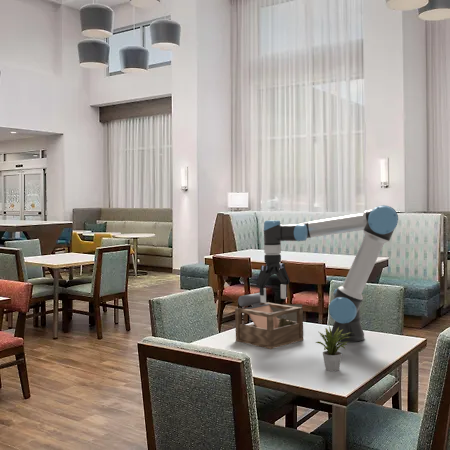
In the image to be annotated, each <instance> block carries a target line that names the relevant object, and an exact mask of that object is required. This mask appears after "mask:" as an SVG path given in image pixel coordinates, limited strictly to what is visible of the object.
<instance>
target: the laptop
mask: <svg viewBox="0 0 450 450" xmlns="http://www.w3.org/2000/svg"><path fill="white" fill-rule="evenodd" d="M286 305H287V306H294V307H302V308H303V304H302V303H301V304H286ZM271 309H272V311H273V312H276V311H281V310H285V309H279V308H273V307H271ZM276 317H277V318H278V319H282V318H284V319H286V320H290V321H294V322H297V312H293V313H289V314H284V315H280V316H276Z"/></svg>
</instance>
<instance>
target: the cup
mask: <svg viewBox="0 0 450 450" xmlns="http://www.w3.org/2000/svg"><path fill="white" fill-rule="evenodd" d="M292 324H294V323H293V322H292V321H290V320H289V321H286V319H284V318H282V319H280V321H279V325H278V328H279V327H283V326H288V325H292Z"/></svg>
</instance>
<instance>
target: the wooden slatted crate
mask: <svg viewBox="0 0 450 450" xmlns="http://www.w3.org/2000/svg"><path fill="white" fill-rule="evenodd" d="M263 304H269V306H270V307H273V308H279V309H285V310H281V311H276V312H272V313H268V312H262V311H256V310H250V309H245V308H243V307H237V308H235V309H234V316H235V317H234V318H235V319H234V320H235V325H234V327H235V341H236V342H239V343H243V344H247V345H252V346H256V347H260V348H264V349H269V350H273V349H276V348H277V349H278V348H279V347H283V346H286V345H291V344H295V343H297V342H301V341H304V310H303V309H304V308H303V306H302V307H294V306H287V305H288V304H280V303H274V302H269V301H268V302H267V301H266V303H262V305H263ZM293 312H297V322H294V321H292V322H293V323H294V324H292V325H288V326H283V327H279V328H275V329H274V324H273V317H275V316H280V315H284V314H289V313H293ZM242 313H243V314H247V315H248V314H253V315H258V316H264V317H267V329H264V328H259V327H256V326H255V324H254V323H250V324H244V323H242ZM278 320H279V321H280V319H278ZM286 321H289V320H286Z"/></svg>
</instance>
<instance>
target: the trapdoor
mask: <svg viewBox="0 0 450 450" xmlns="http://www.w3.org/2000/svg"><path fill="white" fill-rule="evenodd" d="M237 303H238V305H239V306H240V308H243V307H245V308H244V309H250V310H256V311H262V312H268V313H272V312H273V311H272V309H271V307H270V306H269V304H263V303H262V302H261V297H260V292H257V293H255V292H254V293H251V294H250V293H249V294H244V295H239V296H238V299H237ZM248 306H249V307H248ZM247 315H248V316H249V317H250V319H251V322H252V324H255V326H256V327H259V328H264V329H267V317H264V316H258V315H253V314H247ZM273 324H274V329H275V328H278V325H279V320H278V318H277V317H276V316H275V317H273Z"/></svg>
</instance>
